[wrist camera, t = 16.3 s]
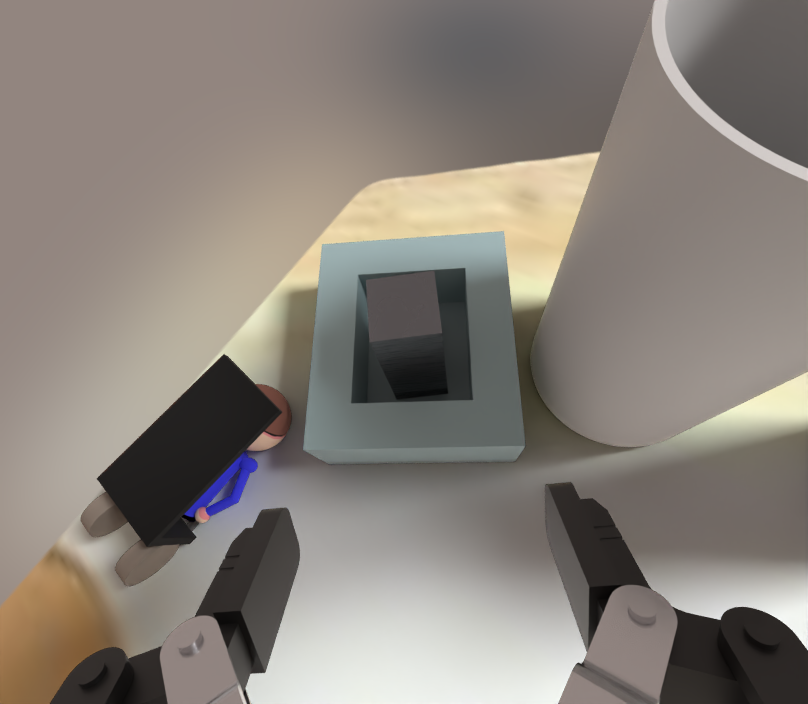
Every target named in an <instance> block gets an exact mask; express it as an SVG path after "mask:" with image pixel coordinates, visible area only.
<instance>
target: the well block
mask: <svg viewBox="0 0 808 704" xmlns="http://www.w3.org/2000/svg"><path fill="white" fill-rule="evenodd" d="M427 271H434V273H435V280H436V288H437V296H438V304H439V311H440V319H441V327H442V335H443V345H444V355H445V366H446V376H447V386H448V394H442V395H434V396H425V397H416V398H408V399H399V400H397V399H396V397H395V395H394V393H393V391H392V389H391V387H390V384H389V382H388V380H387V378H386V376H385V374H384V372H383V370H382V368H381V365H380V363H379V361H378V359H377V357H376V355H375V353H374V351H373V349H372V346H371V344H370V342H369V326H368V308H367V290H366V280H369V279H376V278H383V277H391V276H398V275H405V274H413V273H420V272H427ZM525 446H526V445H525V435H524V425H523V415H522V405H521V395H520V385H519V376H518V366H517V356H516V346H515V336H514V326H513V316H512V307H511V297H510V287H509V277H508V267H507V257H506V247H505V237H504V231H501V232H487V233H474V234H460V235H446V236H432V237H418V238H404V239H390V240H376V241H363V242H349V243H335V244H322V251H321V262H320V272H319V283H318V294H317V305H316V315H315V326H314V337H313V348H312V358H311V369H310V380H309V391H308V401H307V412H306V423H305V434H304V444H303V450H304V451H306V452H308V453H309V454H311V455H313V456H315V457H317V458H318V459H320V460H322V461H324V462H326V463H327V464H384V463H456V462H515V461H516V459H517V458H518V456H519V455H520V454H521V452H522V451H523V449H524V448H525Z"/></svg>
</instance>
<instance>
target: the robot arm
mask: <svg viewBox="0 0 808 704" xmlns="http://www.w3.org/2000/svg"><path fill="white" fill-rule="evenodd" d="M545 514H546V530H547V536H548V540H549V544H550V547H551V550H552V553H553V556H554V559H555V562H556V565H557V567H558V570H559V573H560V576H561V579H562V582H563V585H564V588H565V590H566V593H567V596H568V599H569V602H570V605H571V608H572V611H573V613H574V616H575V619H576V622H577V625H578V628H579V631H580V633H581V636H582V639H583V642H584V645H585V648H586V651H587V654H586V657H585V659H584V661H583V663H582V664H580V663H577V664H576V665H575V667H574V668H573V670H572V672H571V675H570V677H569V679H568V682H567V684H566V687H565V689H564V691H563V694H562V696H561V698H560V701H559V703H558V704H808V650H807V649H806V648H805V646H804V645H803V644H802V642H801V641H800V640H799V638H798V637H797V636H796V635H795V633H794V632H793V631H792V630H791V629H790V628H789V627H788V626H787V625H785V624H784V623H783V622H781V621H780V620H778V619H777V618H775V617H773V616H771V615H770V614H768V613H765V612H763V611H760V610H757V609H753V608H748V607H735V608H732V609H729V610H727V611H726V612H725V613H724V614H723V615H722V617H721V620H718V619H713V618H708V617H704V616H699V615H694V614H690V613H686V612H683V611H681V610H678V609H676V608H674V607H672V606H671V605H670V603H669V602H668V601H667V600H666V599H665V598H664V597H662V596H661V595H660V594H658V593H657V592H655V591H653V590H652V589H651V588H650V586H649V585H648V583H647V581H646V580H645V578H644V576H643V574H642V572H641V571H640V569H639V567H638V565H637V563H636V562H635V560H634V558H633V556H632V554H631V552H630V551H629V549H628V547H627V545H626V543H625V542H624V540H622V536H621V534H620V533H619V531H618V529H617V528H616V527H615V524H614V522H613V520H612V518H611V516H610V515H609V513H608V511H607V510H606V509H605V508H604V507H603V506H601V505H600V504H599V503H598V502H597V501H595V500H594V499H593V498H592V499H581V500H580V498H579V496H578V494H577V492H576V490H575V488H574V486H573V484H572V483H571V482H567V483H556V484H546V485H545ZM299 559H300V548H299V543H298V539H297V536H296V533H295V529H294V526H293V523H292V520H291V516H290V513H289V511H288V509H287V508H276V509H265V510H262V511H261V512H260V513H259V515H258V518H257V520H256V522H255V524H254V526H253V528H245V529H244V530H243V532H242V533H241V534H240V535H239V536H238V537H237V538H236V539H235V540H234V541H233V542H232V544H231V546H230V548H229V550H228V552H227V554H226V556H225V559H224V560H223V562H222V564H221V566H220V568H219V571H218V572H217V574H216V576H215V578H214V580H213V582H212V583H211V585H210V587H209V589H208V591H207V593H206V595H205V597H204V599H203V601H202V603H201V605H200V607H199V609H198V611H197V613H196V615H195V617H194V618H191V619H189V620H187V621H185V622H184V623H182V624H181V625H179V626H178V627H177V628H176V629H175V630H174V631H173V632H172V633H171V634H170V635H169V636H168V637H167V639H166V640H165V642H164V644H163V646H161V647H158V648H156V649H153V650H150V651H148V652H145V653H142V654H140V655H137V656H134V657H132V658H129V659H128V658H127V656H126V654H125V652H124V651H123V650H122V649H120V648H116V647H110V648H106V649H103V650H100V651H98V652H96V653H94V654H92V655H90V656H89V657H87V658H86V659H85V660H83V661H82V662H81V663H80V664H79V665H77V666H76V667H75V668H74V669H73V671H72V672H71V673H70V674H69V675H68V677H67V678H66V680H65V681H64V683H63V684H62V686H61V687H60V689H59V690H58V692H57V693H56V695H55V696H54V698H53V700H52V701H51V703H50V704H251V701H250V698H249V695H248V692H247V690H246V685H247V682H248V679H249V676H250V674H251V673H265V672H266V669H267V665H268V662H269V659H270V656H271V652H272V649H273V646H274V643H275V639H276V636H277V633H278V630H279V627H280V623H281V620H282V617H283V614H284V610H285V607H286V604H287V601H288V597H289V594H290V591H291V588H292V585H293V581H294V578H295V575H296V572H297V568H298V565H299Z"/></svg>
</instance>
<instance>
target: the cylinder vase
mask: <svg viewBox="0 0 808 704" xmlns="http://www.w3.org/2000/svg"><path fill="white" fill-rule="evenodd" d="M531 371H532V376H533V380H534V383H535V386H536V388H537V391H538V393H539V395H540V396H541V398H542V400H543V401H544V403H545V404H546V406H547V407H548V408H549V410H550V411H551V412H552V413H553V414H554V415H555V416H556V417H557V418H558V419H559V420H560V421H561V422H562V423H563V424H565V425H566V426H567V427H569V428H570V429H572V430H573V431H575V432H576V433H578V434H580V435H582V436H584V437H586V438H588V439H591V440H593V441H596V442H599V443H603V444H607V445H611V446H618V447H641V446H648V445H652V444H656V443H659V442H662V441H665V440H667V439H669V438H671V437H673V436H675V435H678V434H680V433H682V432H684V431H686V430H688V429H690V428H692V427H694V426H696V425H698V424H700V423H702V422H704V421H707V420H709V419H711V418H713V417H715V416H717V415H719V414H721V413H723V412H725V411H727V410H729V409H731V408H733V407H736V406H738V405H740V404H742V403H744V402H746V401H748V400H750V399H752V398H754V397H756V396H758V395H760V394H762V393H765V392H767V391H769V390H771V389H773V388H775V387H777V386H779V385H781V384H783V383H785V382H787V381H789V380H791V379H794V378H796V377H798V376H800V375H802V374H804V373H806V372H808V0H655V1H654V4H653V7H652V10H651V13H650V15H649V18H648V21H647V24H646V26H645V29H644V32H643V35H642V38H641V40H640V43H639V46H638V49H637V52H636V54H635V57H634V60H633V63H632V66H631V69H630V71H629V74H628V77H627V80H626V83H625V85H624V88H623V91H622V94H621V96H620V99H619V102H618V105H617V108H616V110H615V113H614V116H613V119H612V122H611V125H610V127H609V130H608V133H607V135H606V138H605V141H604V144H603V147H602V149H601V152H600V155H599V158H598V161H597V163H596V166H595V169H594V172H593V175H592V177H591V180H590V183H589V186H588V189H587V191H586V194H585V197H584V200H583V203H582V205H581V208H580V211H579V214H578V217H577V219H576V222H575V225H574V228H573V231H572V233H571V236H570V239H569V242H568V245H567V247H566V250H565V253H564V256H563V259H562V261H561V264H560V267H559V270H558V273H557V275H556V278H555V281H554V284H553V287H552V289H551V292H550V295H549V298H548V301H547V303H546V306H545V309H544V312H543V315H542V317H541V320H540V323H539V326H538V328H537V331H536V334H535V337H534V340H533V344H532V348H531Z"/></svg>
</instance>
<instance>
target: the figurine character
mask: <svg viewBox="0 0 808 704" xmlns="http://www.w3.org/2000/svg"><path fill="white" fill-rule="evenodd" d="M290 424H291V410H290V406H289V404H288V402H287V400H286V399H285V397H284V396H283V395H282V394H281V393H280V392H279V391H277V390H276V389H274V388H272V387H270V386H267V385H262V384H255V383H254V382H253V381H252V380H251V379H250V378H249V377H248V376H247V375H246V374H245V373H244V372H243V371H242V370H241V369H240V368H239V367H238V366H237V365H236V364H235V363H234V362H233V361H232V360H231V359H230V358H229V357H228V356H226V355H225V354H224V355H223V356H221V357H220V358H219V359H218V360H217V361H216V362H215V363H214V364H213V365H212V366H211V367H210V368H209V369H208V370H207V371H206V372H205V373H204V374H203V375H202V376H201V377H200V378H199V379H198V380H197V381H196V382H195V383H194V384H193V385H192V386H191V387H190V388H189V389H188V390H187V391H186V392H185V393H184V394H183V395H182V396H181V397H180V398H179V399H178V400H177V401H175V402H174V403H173V404H172V405H171V406H170V407H169V409H167V410H166V411H165V412H164V413H163V414H162V415H161V416H160V417H159V418H158V419H157V420H156V421H155V422H154V423H153V424H152V425H151V426H150V427H149V428H148V429H147V430H146V431H145V432H144V433H143V434H142V435H141V436H140V437H139V438H138V439H137V440H136V441H135V442H134V443H133V444H132V445H131V446H130V447H128V449H126V451H124V453H122V454H121V455H120V456H119V457H118V458H117V459H116V460H115V461H114V462H113V463H112V464H111V465H110V466H109V467H108V468H107V469H106V470H105V471H104V472H103V473H102V474H101V475H100V476H99V477H98V478H97V480H98V481H99V482H100V484H101V485H102V486H103V488H104V489H105V490H106V492H105V493H103V494H102V495H100V496H99V497H98V498H96V499H95V500H94V501H93V502H92V503H91V504H90V505H89V506H88V507H87V508H86V509H85V510H84V512H83V513H82V516H81V522H82V524H83V525H84V527H85V528H86V530H87V531H88V532H89V534H90V535H91V536H92V537H100V536H104V535H107V534H109V533H111V532H113V531H115V530H117V529H118V528H120V527H122V526H123V525H124V524H126V523H127V522H129V523H130V525H131V526H132V527H133V529H134V530H135V532H136V533H137V534H138V536H139V537H140V538H141V540H140V541H138V542H137V543H136V544H134V545H133V546H132V547H131V548H130V549H129V550H128V551H127V552H126V553H125V554H124V555H123V556H122V557H121V558H120V559H119V561H118V562H117V564H116V567H115V571H116V572H117V574H118V575H119V577H120V578H121V580H122V581H123V582H124V584H125V585H126V586H133V585H136V584H138V583H140V582H142V581H144V580H146V579H147V578H149V577H150V576H152V575H153V574H154V573H156V572H157V571H158V570H160V569H161V568H162V567H163V566H164V565H165V564H166V563H167V562H168V561H169V560H170V559H171V558H172V557H173V556H174V554H175V553H176V551H177V550H178V548H179V545H181V544H190V543H191V542H192V541H193V540H194V539H195V538H196V536H195V535H194V534H193V532H192V531H193V530H194V528H195V527H196V526H197V525H198V524H199V523H205V522H207V521H208V520H209V518H210V516H212V515H214V514H216V513H218V512H220V511H222V510H224V509H226V508H228V507H230V506H232V505H234V504H236V503H238V502H239V499H240V497H241V494H242V492H243V489H244V487H245V484H246V482H247V479H248V477H249V474H250V473H252V472H254V471H256V469H257V467H258V464H257V462H256V461H255V460H254V459H252V458H249V457H248V455H247V453H246V450H250V451H262V450H266V449H269V448H272V447H273V446H275V445H277V444H278V443H279V442H280V441H282V439H283V438H284V437H285V436H286V434H287V432H288V430H289V428H290ZM240 468H241V471H240V473H239V476H238V478H237V481H236V483H235V485H234V488H233V490H232V493H231V495H230V496H229V497H227V498H225V499H223V500H221V501H219V502H217V503H215V504H213V505H211V506H209V507H206V506H207V505H208V504H209V503H210V502H211V500H212V499H213V498H214V497H215V496H216V495H217V494H218V493H219V491H220V490H221V489H222V488H223V487H224V486H225V485H226V483H227V482H228V481H229V480H230V479H231V478H232V477H233V475H234V474H235V473H236V472H237V471H238V470H239V469H240ZM181 517H182V518H184V519H186V520H188V521H189V522H188V523H187V525H186V523H185V522H184V521H183V520H182V518H181Z"/></svg>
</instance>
